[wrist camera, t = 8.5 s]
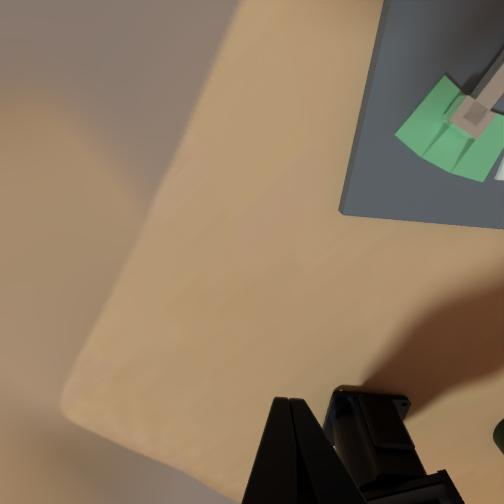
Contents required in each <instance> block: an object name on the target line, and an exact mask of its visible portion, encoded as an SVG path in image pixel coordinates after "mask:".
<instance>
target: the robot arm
mask: <svg viewBox="0 0 504 504" xmlns="http://www.w3.org/2000/svg"><path fill="white" fill-rule="evenodd" d="M410 405H411V403H410V401H409V399H408V397H406V396H396V395H383V394H370V393H357V392H343V391H336V392H334V393H333V394H332V396H331V400H330V403H329V407H328V410H327V414H326V417H325V421H324V424H323V428H321V426H320V424H319V423H318V421H317V419H316V418H315V416H314V414H313V413H312V411H311V410H310V408H309V406H308V405H307V403H306V401H305V400H304V399H300V398H290V399H288V398H286V397H275V398H274V399H273V402H272V405H271V409H270V412H269V415H268V418H267V422H266V425H265V428H264V432H263V435H262V438H261V441H260V445H259V448H258V451H257V454H256V458H255V461H254V464H253V467H252V471H251V474H250V477H249V480H248V484H247V487H246V490H245V493H244V497H243V500H242V503H241V504H465V503H464V501H463V500H462V498H461V496H460V494H459V493H458V491H457V489H456V487H455V485H454V484H453V482H452V480H451V478H450V477H449V475H448V473H447V471H446V470H445V469H443V470H439V471H437V472H438V473H435V474H431V475H427V473H426V471H425V469H424V467H423V465H422V463H421V461H420V459H419V457H418V454H417V452H416V450H415V445H414V443H413V441H412V439H411V437H410V435H409V433H408V431H407V429H406V427H405V424H404V422H403V420H404V418H405V416H406V414H407V412H408V409H409V407H410ZM333 446H335V449H336V450H335V449H334V447H333Z"/></svg>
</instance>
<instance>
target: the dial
mask: <svg viewBox="0 0 504 504" xmlns="http://www.w3.org/2000/svg"><path fill="white" fill-rule="evenodd" d="M503 93H504V50H503V52H502V53H501V54H500V56H499V57H498V58H497V60H496V61H495V62H494V64H493V65H492V66H491V68H490V69H489V70H488V72H487V73H486V74H485V76H484V77H483V78H482V80H481V81H480V82H479V84H478V85H477V86H476V88H475V89H474V90H473V92H472V93H471V94H470V96H469V95H463V96H458V97H457V99H456V100H455V101H454V103H453V104H452V105H451V107H450V108H449V109H448V111H447V112H446V114H445V115H444V116H443V118H442V119H441V121H443V122H444V123H446V124H447V125H449V126H450V127H451V128H453V129H454V130H456V131H457V132H459V133H460V134H462V135H463V136H465V137H466V138H468V139H478V138H479V137H480V135H481V134H482V133H483V132H484V130H485V129H486V128H487V127H488V125H489V124H490V123H491V122H492V121H493V119H494V118H495V117H496V116H497V115H495V114H494V113H492V112H491V111H490V109H491V108H492V107H493V105H494V104H495V103H496V102H497V100H498V99H499V98H500V97H501V95H502V94H503Z"/></svg>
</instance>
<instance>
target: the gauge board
mask: <svg viewBox="0 0 504 504" xmlns="http://www.w3.org/2000/svg"><path fill="white" fill-rule="evenodd" d="M503 50H504V0H384V3H383V7H382V12H381V17H380V21H379V26H378V30H377V35H376V40H375V44H374V49H373V53H372V58H371V63H370V67H369V72H368V76H367V81H366V85H365V90H364V95H363V99H362V104H361V108H360V113H359V118H358V122H357V127H356V131H355V136H354V141H353V145H352V150H351V154H350V159H349V163H348V168H347V173H346V177H345V182H344V186H343V191H342V196H341V200H340V205H339V209H338V210H339V211H340V213H341V214H342V215H348V216H359V217H371V218H382V219H393V220H404V221H415V222H426V223H438V224H449V225H460V226H471V227H482V228H494V229H504V93H503V94H502V95H501V97H500V98H499V99H498V100H497V102H496V103H495V104H494V105H493V107H492V108H491V109H490V111H491V112H492V113H494V114H495V115H497V116H496V117H495V118H494V119H493V121H492V122H491V123H490V124H489V125H488V127H487V128H486V129H485V130H484V132H483V133H482V134H481V135H480V137H479V138H478V139H468V138H466V137H465V136H463V135H462V134H460V133H459V132H457V131H456V130H454V129H453V128H451V127H450V126H449V125H447V124H446V123H444V122H443V121H441V119H442V118H443V116H444V115H445V114H446V112H447V111H448V109H449V108H450V107H451V105H452V104H453V103H454V101H455V100H456V99H457V97H458V96H463V95H469V96H470V94H471V93H472V92H473V90H474V89H475V88H476V86H477V85H478V84H479V82H480V81H481V80H482V78H483V77H484V76H485V74H486V73H487V72H488V70H489V69H490V68H491V66H492V65H493V64H494V62H495V61H496V60H497V58H498V57H499V56H500V54H501V53H502V52H503Z"/></svg>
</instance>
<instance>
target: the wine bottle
mask: <svg viewBox="0 0 504 504" xmlns="http://www.w3.org/2000/svg"><path fill="white" fill-rule="evenodd" d="M493 439H494V442H495V444H496V445H497V446H498V448H499V449H500V450H501V452H502V453H503V455H504V420H503V421H502V422H501V423H500V424H499V425H498V426H497V427H496V429H495V431H494V434H493Z"/></svg>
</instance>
